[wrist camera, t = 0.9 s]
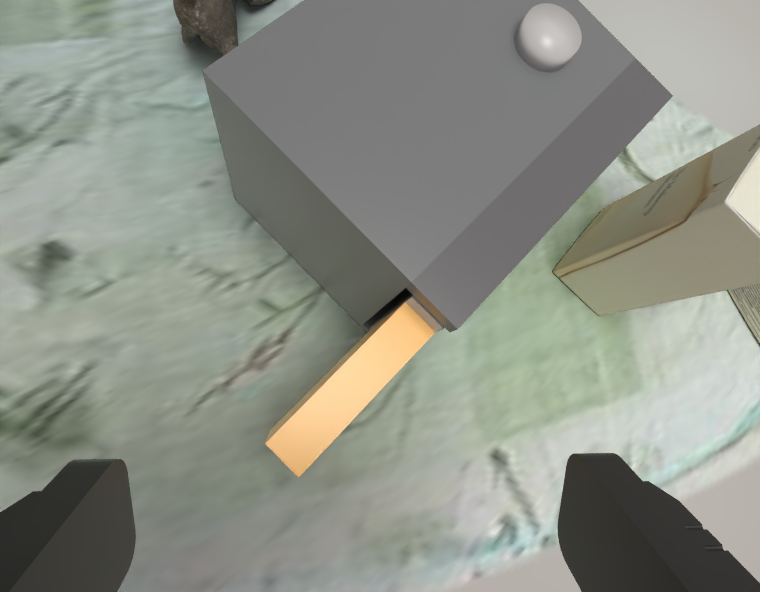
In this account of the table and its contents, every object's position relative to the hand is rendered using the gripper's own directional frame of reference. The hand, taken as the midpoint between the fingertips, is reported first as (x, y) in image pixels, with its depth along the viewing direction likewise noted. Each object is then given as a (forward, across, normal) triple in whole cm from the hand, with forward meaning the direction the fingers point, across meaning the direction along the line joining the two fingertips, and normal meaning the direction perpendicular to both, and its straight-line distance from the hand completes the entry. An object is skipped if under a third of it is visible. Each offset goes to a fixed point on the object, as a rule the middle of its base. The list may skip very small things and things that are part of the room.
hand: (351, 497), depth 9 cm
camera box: (+22, -3, -4) cm, 22 cm away
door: (+17, -3, +2) cm, 17 cm away
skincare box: (+22, -16, 0) cm, 27 cm away
